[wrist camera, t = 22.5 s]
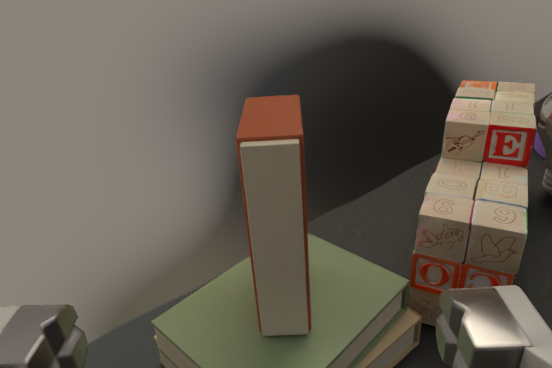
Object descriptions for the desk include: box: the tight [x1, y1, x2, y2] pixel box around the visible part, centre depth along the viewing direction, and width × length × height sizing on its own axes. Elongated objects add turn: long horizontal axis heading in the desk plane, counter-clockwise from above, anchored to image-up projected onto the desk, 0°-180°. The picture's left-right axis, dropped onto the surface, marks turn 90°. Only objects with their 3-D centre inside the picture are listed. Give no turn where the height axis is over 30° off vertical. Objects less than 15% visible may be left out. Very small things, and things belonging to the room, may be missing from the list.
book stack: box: [151, 233, 422, 368], centre depth 28 cm, size 14×11×5 cm
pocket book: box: [236, 95, 312, 336], centre depth 24 cm, size 3×6×12 cm, turn 179°
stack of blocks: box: [407, 81, 536, 327], centre depth 35 cm, size 21×6×12 cm, turn 153°
